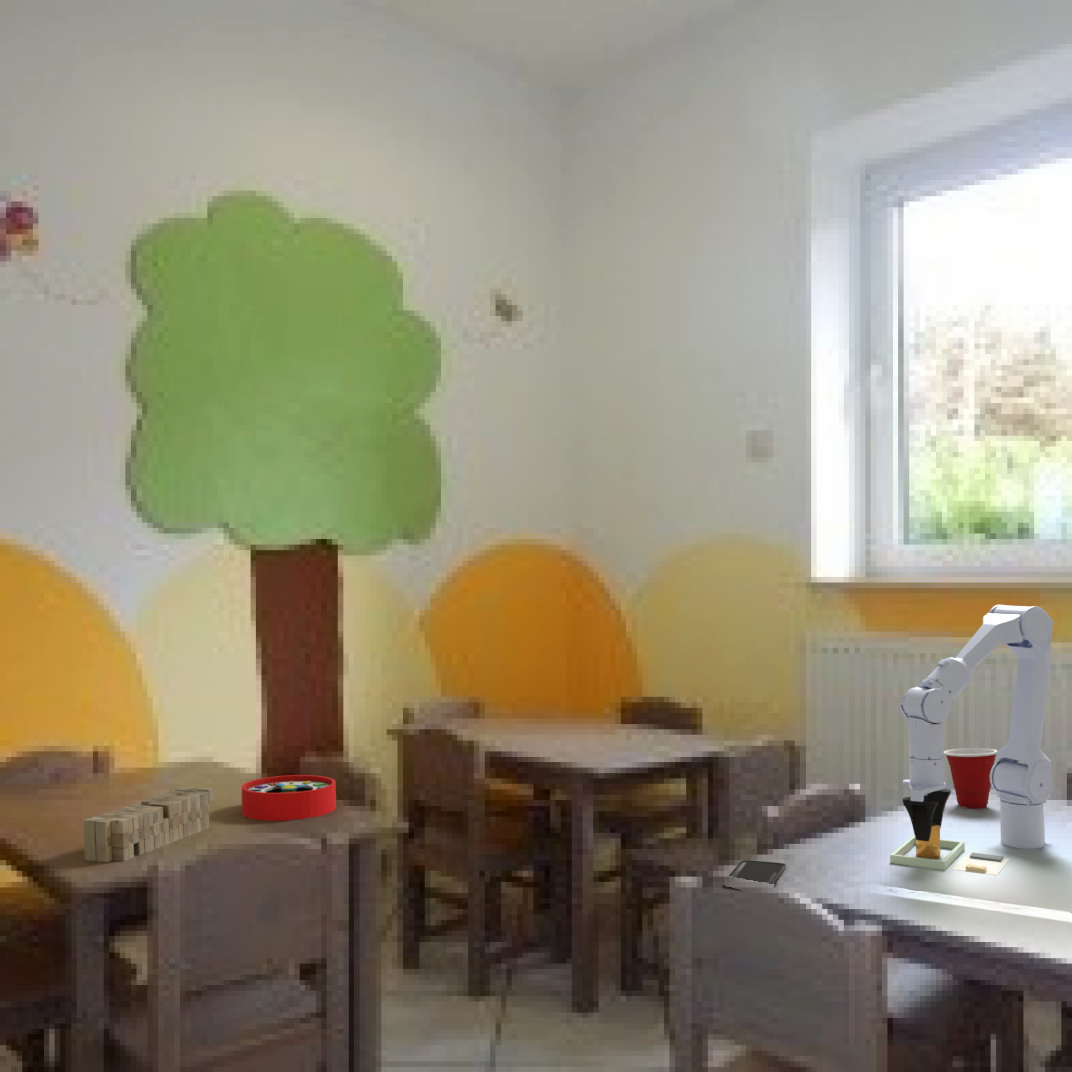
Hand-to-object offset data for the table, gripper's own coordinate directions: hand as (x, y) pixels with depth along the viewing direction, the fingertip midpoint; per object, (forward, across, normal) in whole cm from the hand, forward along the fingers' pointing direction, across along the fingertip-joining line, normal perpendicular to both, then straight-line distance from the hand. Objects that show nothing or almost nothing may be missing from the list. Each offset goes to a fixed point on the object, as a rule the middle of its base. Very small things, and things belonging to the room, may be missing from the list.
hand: (928, 835), depth 197 cm
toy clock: (+5, +24, -129) cm, 131 cm away
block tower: (+4, +58, -132) cm, 144 cm away
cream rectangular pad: (+5, +1, +9) cm, 10 cm away
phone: (+5, +23, -23) cm, 33 cm away
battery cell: (+4, 0, 0) cm, 4 cm away
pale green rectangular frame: (+5, 0, 0) cm, 5 cm away
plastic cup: (+5, -50, -3) cm, 50 cm away
